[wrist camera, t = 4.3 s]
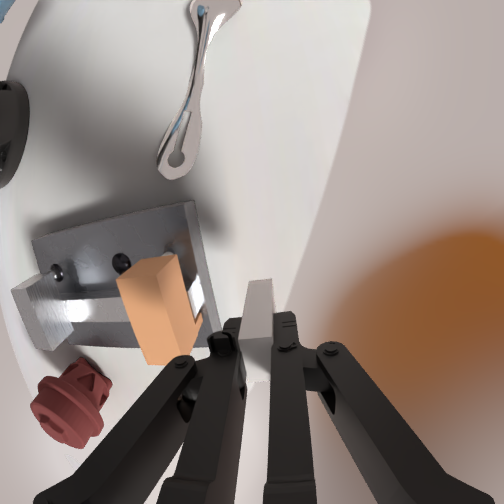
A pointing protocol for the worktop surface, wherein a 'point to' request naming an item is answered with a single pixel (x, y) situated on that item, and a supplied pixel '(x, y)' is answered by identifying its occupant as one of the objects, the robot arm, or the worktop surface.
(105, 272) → the hole plate
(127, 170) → the worktop surface
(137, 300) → the block
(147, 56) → the worktop surface
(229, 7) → the grey spoon
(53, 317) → the bar
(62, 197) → the worktop surface
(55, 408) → the mechanical component
